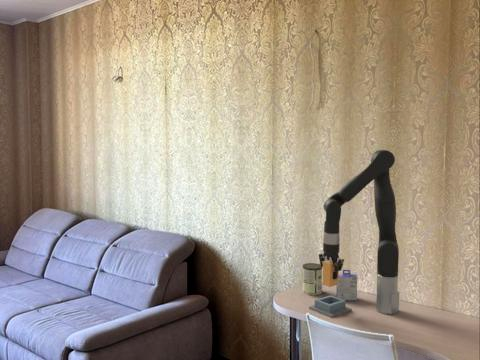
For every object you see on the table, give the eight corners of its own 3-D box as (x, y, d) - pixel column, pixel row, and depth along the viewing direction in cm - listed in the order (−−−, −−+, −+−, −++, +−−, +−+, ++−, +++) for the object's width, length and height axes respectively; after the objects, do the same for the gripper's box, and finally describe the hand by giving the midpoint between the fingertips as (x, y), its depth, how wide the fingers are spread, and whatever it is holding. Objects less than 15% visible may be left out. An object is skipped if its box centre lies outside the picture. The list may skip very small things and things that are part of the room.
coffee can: (304, 287, 248) (305, 262, 247) (323, 289, 245) (324, 264, 243) (300, 293, 239) (300, 267, 238) (319, 296, 235) (320, 269, 234)
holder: (351, 310, 215) (351, 301, 215) (331, 317, 207) (331, 308, 206) (328, 302, 226) (328, 293, 226) (308, 308, 218) (309, 299, 217)
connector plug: (338, 284, 215) (338, 259, 214) (329, 287, 212) (330, 261, 211) (331, 282, 219) (331, 257, 218) (322, 284, 215) (322, 259, 214)
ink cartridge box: (355, 296, 234) (355, 269, 233) (357, 300, 228) (358, 272, 227) (335, 296, 234) (336, 269, 233) (337, 300, 229) (338, 272, 227)
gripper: (348, 243, 210) (347, 280, 212) (325, 238, 221) (324, 272, 223) (337, 246, 206) (337, 283, 207) (314, 240, 217) (313, 275, 218)
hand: (330, 277), depth 215 cm, fingers closed on connector plug, 4 cm apart
